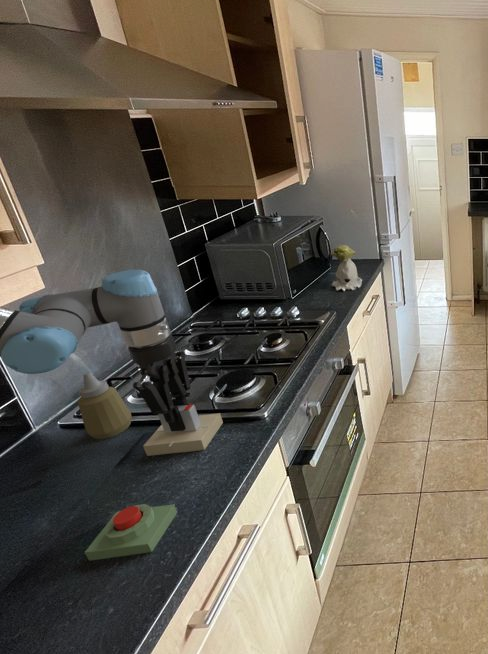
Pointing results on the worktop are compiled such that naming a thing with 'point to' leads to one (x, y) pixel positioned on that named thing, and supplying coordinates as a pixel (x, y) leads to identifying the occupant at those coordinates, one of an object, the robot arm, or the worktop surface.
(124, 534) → the button box
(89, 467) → the worktop surface
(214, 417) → the switch base
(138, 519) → the button
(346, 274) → the white green figurine
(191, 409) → the grey rectangular block
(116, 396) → the squeeze bottle
